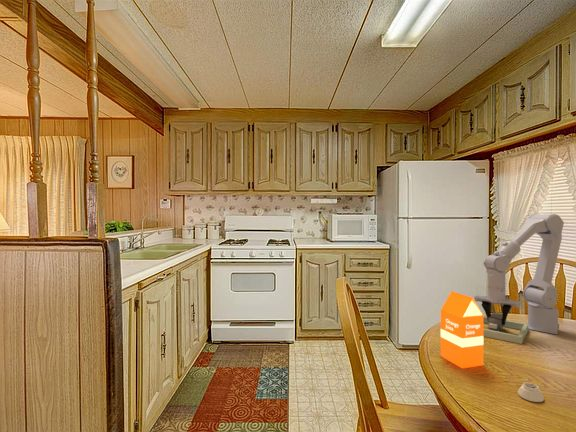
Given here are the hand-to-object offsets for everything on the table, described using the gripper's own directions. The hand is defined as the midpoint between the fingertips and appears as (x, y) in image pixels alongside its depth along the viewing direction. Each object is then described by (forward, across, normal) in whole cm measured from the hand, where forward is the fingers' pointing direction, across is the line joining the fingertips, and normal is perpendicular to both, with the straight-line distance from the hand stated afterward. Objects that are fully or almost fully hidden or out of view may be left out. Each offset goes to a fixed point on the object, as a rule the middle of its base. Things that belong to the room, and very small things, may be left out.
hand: (496, 323), depth 126 cm
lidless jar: (+3, +15, -48) cm, 50 cm away
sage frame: (+3, 0, 0) cm, 3 cm away
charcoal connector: (+1, 0, 0) cm, 1 cm away
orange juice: (+3, -3, -36) cm, 37 cm away
